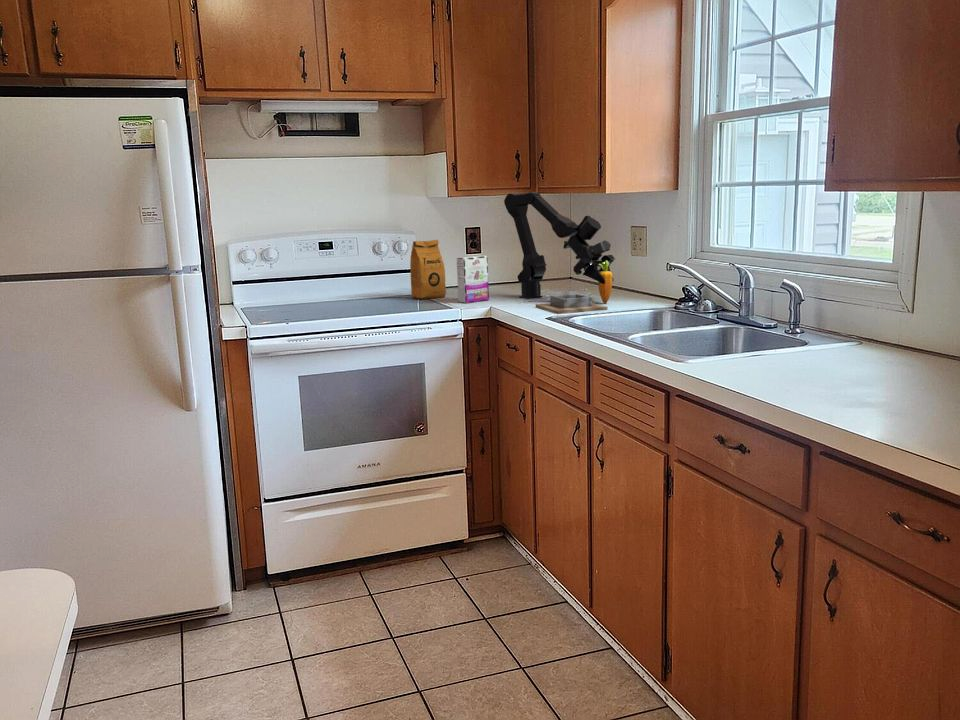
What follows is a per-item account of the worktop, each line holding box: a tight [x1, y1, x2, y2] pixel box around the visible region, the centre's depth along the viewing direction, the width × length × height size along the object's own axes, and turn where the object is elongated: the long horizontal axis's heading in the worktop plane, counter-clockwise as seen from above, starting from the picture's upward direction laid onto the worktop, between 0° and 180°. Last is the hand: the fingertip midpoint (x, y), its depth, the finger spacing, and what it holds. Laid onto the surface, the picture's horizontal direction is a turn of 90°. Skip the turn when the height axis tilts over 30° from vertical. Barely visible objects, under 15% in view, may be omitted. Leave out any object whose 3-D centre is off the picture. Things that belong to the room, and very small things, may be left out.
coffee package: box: [409, 239, 447, 300], centre depth 318 cm, size 10×12×22 cm
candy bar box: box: [455, 255, 490, 304], centre depth 305 cm, size 11×5×16 cm, turn 130°
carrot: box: [597, 260, 614, 304], centre depth 290 cm, size 5×5×15 cm
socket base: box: [535, 293, 608, 315], centre depth 282 cm, size 18×18×4 cm
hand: (608, 282), depth 290 cm, fingers closed on carrot, 5 cm apart
